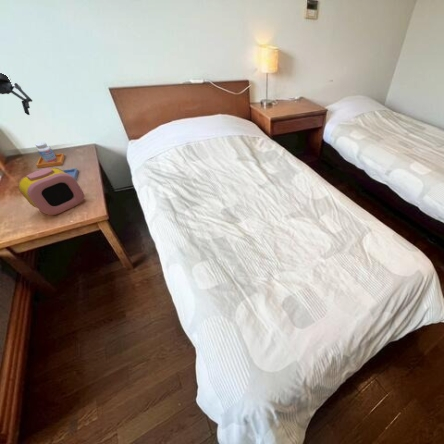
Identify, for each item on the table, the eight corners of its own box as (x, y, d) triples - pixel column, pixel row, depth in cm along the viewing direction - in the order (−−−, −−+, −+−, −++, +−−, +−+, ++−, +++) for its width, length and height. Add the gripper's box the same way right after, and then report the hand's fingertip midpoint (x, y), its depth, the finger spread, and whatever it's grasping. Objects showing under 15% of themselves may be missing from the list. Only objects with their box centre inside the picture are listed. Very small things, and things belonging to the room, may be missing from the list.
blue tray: (50, 185, 134) (48, 182, 133) (54, 174, 141) (52, 171, 140) (76, 181, 139) (74, 178, 137) (78, 171, 146) (76, 168, 144)
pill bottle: (50, 164, 147) (38, 146, 140) (42, 162, 149) (30, 144, 141) (60, 160, 152) (49, 142, 144) (53, 157, 153) (41, 140, 145)
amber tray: (38, 168, 145) (36, 165, 143) (42, 159, 152) (40, 155, 151) (62, 165, 149) (60, 161, 148) (65, 156, 156) (63, 153, 155)
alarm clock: (48, 220, 116) (20, 186, 102) (36, 211, 119) (7, 177, 106) (89, 200, 128) (69, 167, 115) (77, 193, 131) (56, 160, 118)
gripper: (33, 79, 139) (44, 116, 140) (-28, 80, 130) (-16, 120, 130) (25, 71, 132) (36, 109, 133) (-40, 71, 123) (-28, 113, 123)
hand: (10, 114), depth 132 cm, fingers open, 13 cm apart
